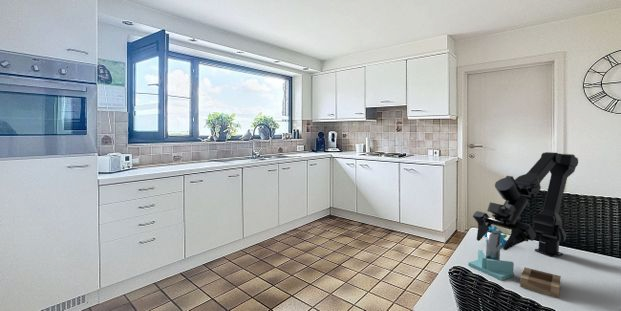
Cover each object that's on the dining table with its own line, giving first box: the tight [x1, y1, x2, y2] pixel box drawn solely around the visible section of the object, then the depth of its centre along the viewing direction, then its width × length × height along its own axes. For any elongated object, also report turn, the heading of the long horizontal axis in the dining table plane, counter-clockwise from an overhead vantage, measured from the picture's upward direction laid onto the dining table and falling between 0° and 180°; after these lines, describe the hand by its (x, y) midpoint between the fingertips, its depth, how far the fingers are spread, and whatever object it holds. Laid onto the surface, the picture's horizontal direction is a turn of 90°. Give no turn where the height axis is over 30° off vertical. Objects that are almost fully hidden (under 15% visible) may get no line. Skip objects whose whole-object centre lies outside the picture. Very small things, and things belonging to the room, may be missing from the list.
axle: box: [485, 230, 502, 260], centre depth 100 cm, size 4×4×12 cm
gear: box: [483, 225, 508, 249], centre depth 125 cm, size 11×6×10 cm
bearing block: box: [519, 266, 562, 299], centre depth 90 cm, size 9×9×3 cm
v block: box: [467, 249, 515, 281], centre depth 100 cm, size 6×12×5 cm, turn 25°
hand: (490, 244), depth 99 cm, fingers open, 9 cm apart
